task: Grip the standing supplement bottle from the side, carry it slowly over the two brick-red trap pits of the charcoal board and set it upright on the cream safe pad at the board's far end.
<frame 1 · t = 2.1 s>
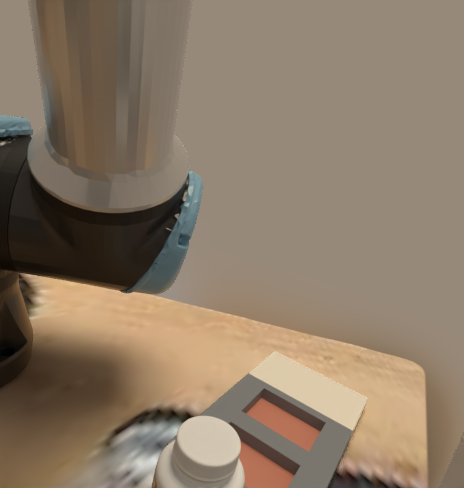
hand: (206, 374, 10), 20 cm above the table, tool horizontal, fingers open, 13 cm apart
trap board: (249, 470, 33), on the table
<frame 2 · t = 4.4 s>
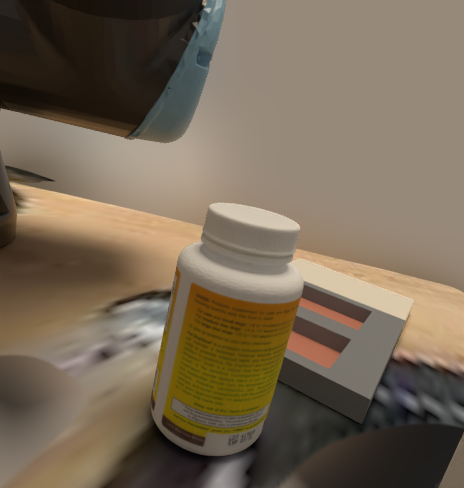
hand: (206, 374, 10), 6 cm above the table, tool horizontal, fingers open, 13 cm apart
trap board: (286, 346, 26), on the table
supplement bottle: (204, 420, 18), on the table
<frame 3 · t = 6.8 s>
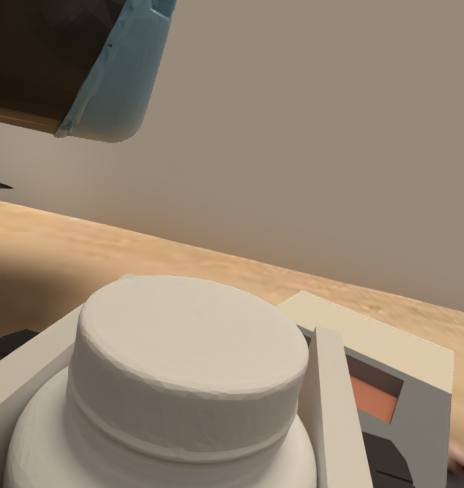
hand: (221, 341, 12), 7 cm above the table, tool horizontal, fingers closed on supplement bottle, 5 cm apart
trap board: (282, 457, 17), on the table
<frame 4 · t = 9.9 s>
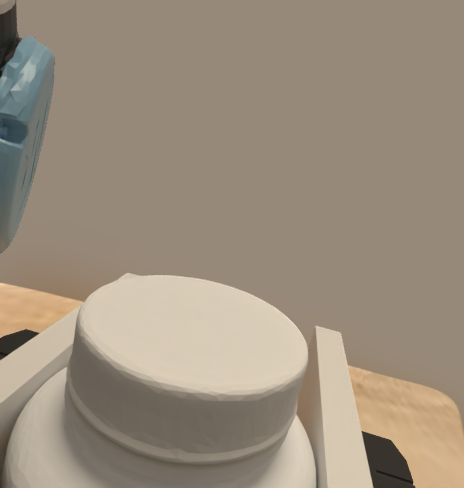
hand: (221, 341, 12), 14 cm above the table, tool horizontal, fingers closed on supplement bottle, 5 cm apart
when the fingers open (9 cm above the table, at t = 13.2 s): supplement bottle stays where it is, resting on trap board.
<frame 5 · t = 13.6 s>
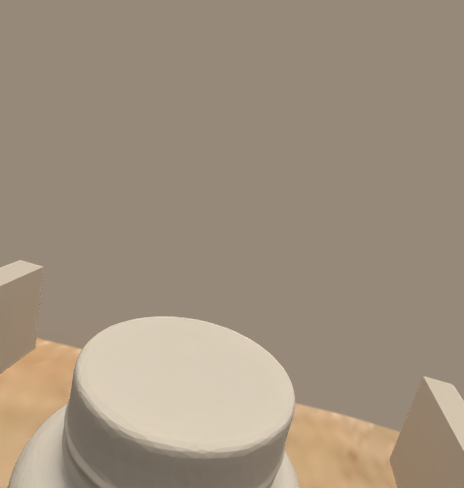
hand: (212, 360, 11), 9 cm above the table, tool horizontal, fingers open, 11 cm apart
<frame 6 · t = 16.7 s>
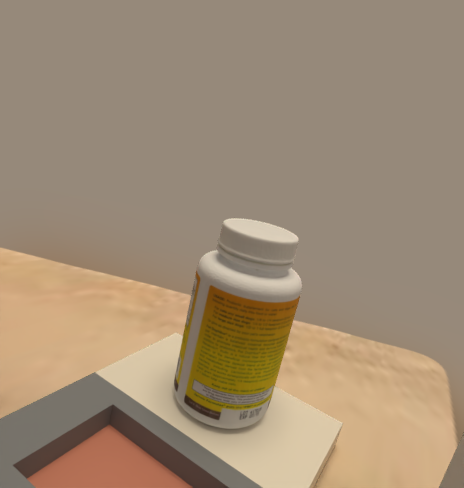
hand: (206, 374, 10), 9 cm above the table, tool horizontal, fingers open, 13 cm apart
supplement bottle: (218, 401, 22), point 1 cm above the table, touching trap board
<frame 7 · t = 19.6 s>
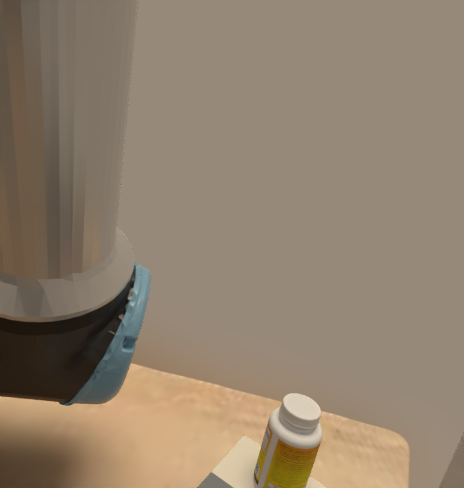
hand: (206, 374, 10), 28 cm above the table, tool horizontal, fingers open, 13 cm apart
supplement bottle: (276, 486, 40), point 1 cm above the table, touching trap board
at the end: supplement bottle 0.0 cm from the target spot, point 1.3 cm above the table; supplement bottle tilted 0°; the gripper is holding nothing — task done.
